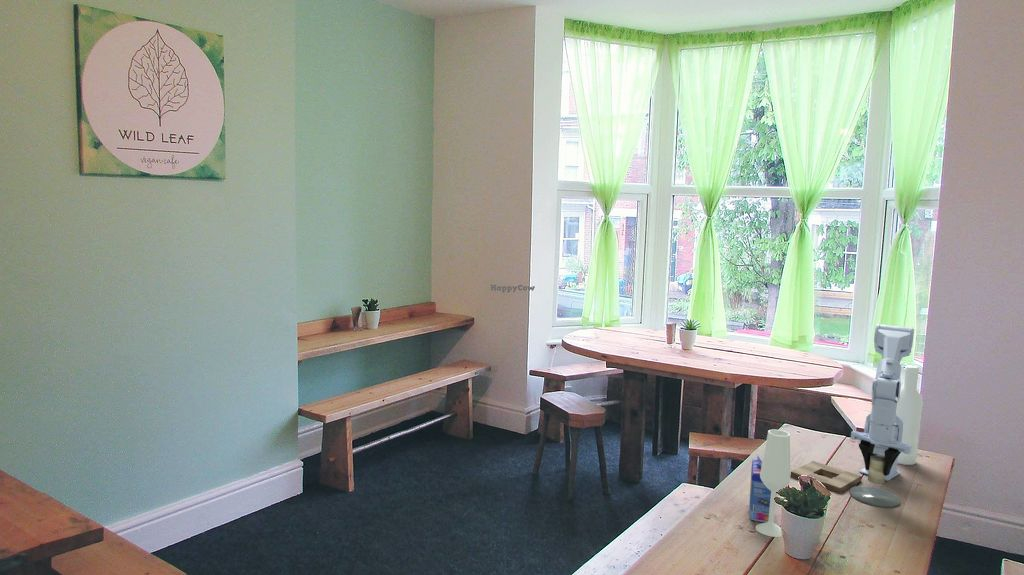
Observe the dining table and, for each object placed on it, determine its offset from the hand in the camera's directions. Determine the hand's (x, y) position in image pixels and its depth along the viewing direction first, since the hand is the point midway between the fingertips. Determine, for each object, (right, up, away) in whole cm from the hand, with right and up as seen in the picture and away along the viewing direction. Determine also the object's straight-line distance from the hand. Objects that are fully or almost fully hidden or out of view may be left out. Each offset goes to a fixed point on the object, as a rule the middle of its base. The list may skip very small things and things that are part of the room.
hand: (877, 471), depth 181 cm
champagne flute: (-36, -9, -20) cm, 43 cm away
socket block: (-8, -5, +13) cm, 16 cm away
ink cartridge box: (-36, -8, -12) cm, 38 cm away
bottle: (+24, -5, +30) cm, 38 cm away
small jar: (0, -3, 0) cm, 3 cm away
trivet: (0, -7, +1) cm, 7 cm away
